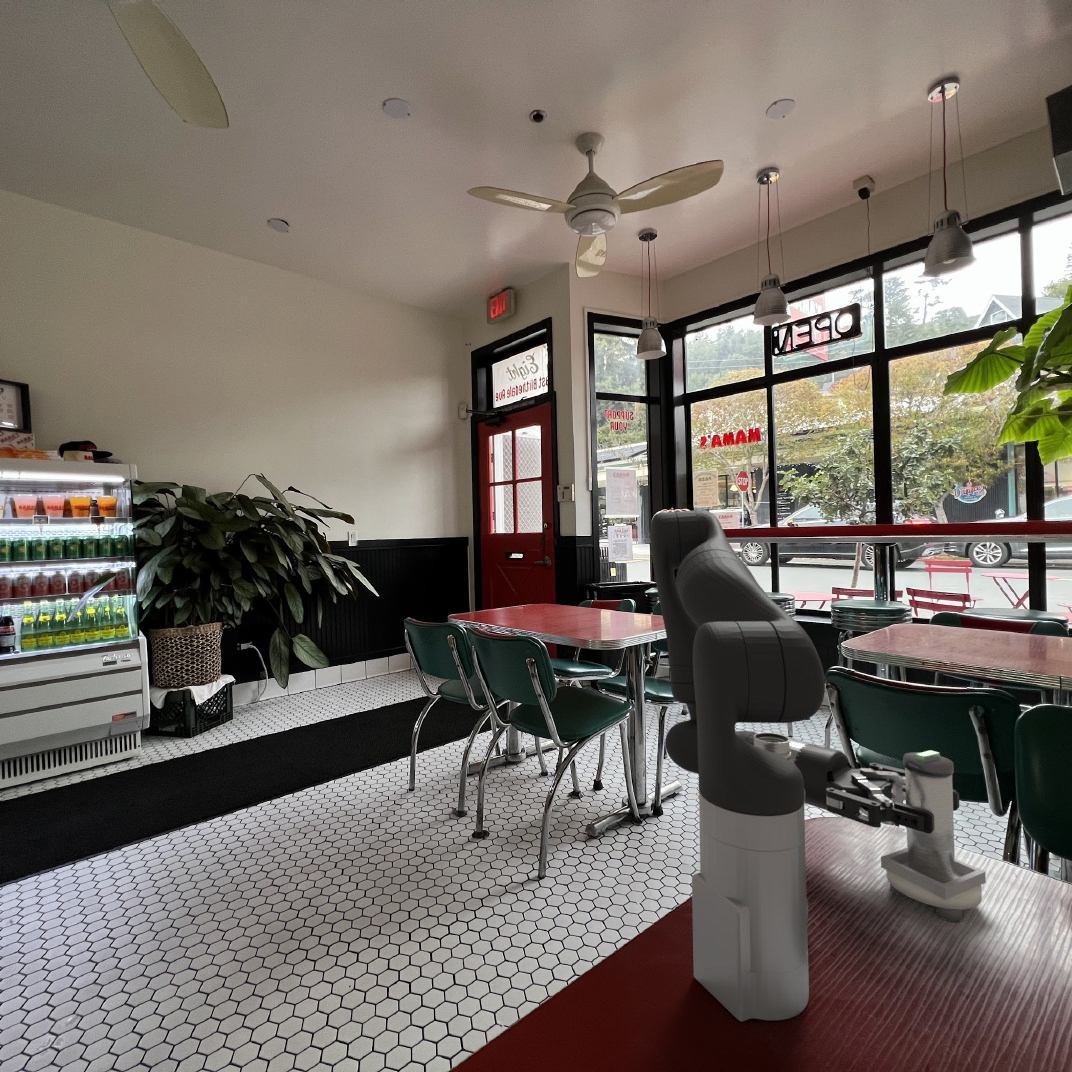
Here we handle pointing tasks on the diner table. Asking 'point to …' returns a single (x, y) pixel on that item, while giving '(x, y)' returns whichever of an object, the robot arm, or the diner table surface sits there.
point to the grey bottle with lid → (935, 794)
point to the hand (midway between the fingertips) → (946, 812)
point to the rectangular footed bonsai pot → (936, 886)
